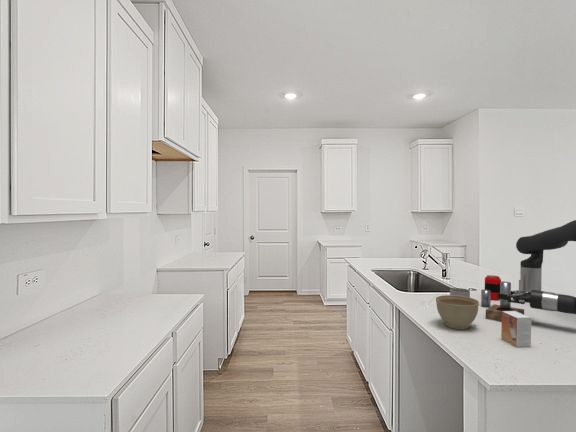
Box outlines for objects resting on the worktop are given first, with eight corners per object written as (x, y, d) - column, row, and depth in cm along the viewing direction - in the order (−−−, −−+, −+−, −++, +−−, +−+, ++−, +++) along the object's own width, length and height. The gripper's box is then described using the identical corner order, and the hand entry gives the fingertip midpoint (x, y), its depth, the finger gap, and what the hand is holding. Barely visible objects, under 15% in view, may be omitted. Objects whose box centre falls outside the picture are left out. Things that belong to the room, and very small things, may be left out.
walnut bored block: (485, 318, 156) (485, 309, 156) (493, 312, 165) (493, 304, 165) (517, 325, 148) (517, 315, 148) (524, 318, 156) (524, 309, 156)
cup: (461, 314, 162) (461, 292, 162) (446, 310, 170) (446, 289, 169) (473, 312, 166) (473, 290, 166) (458, 307, 174) (458, 287, 173)
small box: (500, 339, 133) (501, 310, 132) (515, 338, 133) (515, 310, 133) (516, 347, 125) (516, 317, 124) (531, 346, 125) (531, 317, 125)
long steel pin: (497, 317, 158) (498, 281, 158) (505, 317, 158) (506, 281, 158) (504, 320, 154) (504, 283, 154) (512, 319, 155) (513, 283, 154)
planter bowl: (429, 319, 156) (429, 294, 155) (467, 319, 155) (467, 295, 155) (444, 332, 139) (444, 305, 139) (486, 332, 139) (486, 305, 139)
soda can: (497, 301, 185) (498, 278, 184) (482, 298, 190) (482, 276, 190) (503, 298, 190) (503, 276, 189) (487, 296, 195) (487, 274, 195)
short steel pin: (479, 305, 177) (479, 289, 177) (486, 305, 178) (486, 289, 177) (484, 307, 173) (485, 291, 173) (492, 307, 174) (492, 291, 173)
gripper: (548, 288, 151) (504, 283, 162) (541, 294, 141) (495, 288, 152) (548, 306, 151) (504, 299, 162) (541, 313, 141) (495, 305, 152)
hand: (500, 294), depth 157 cm, fingers open, 8 cm apart
